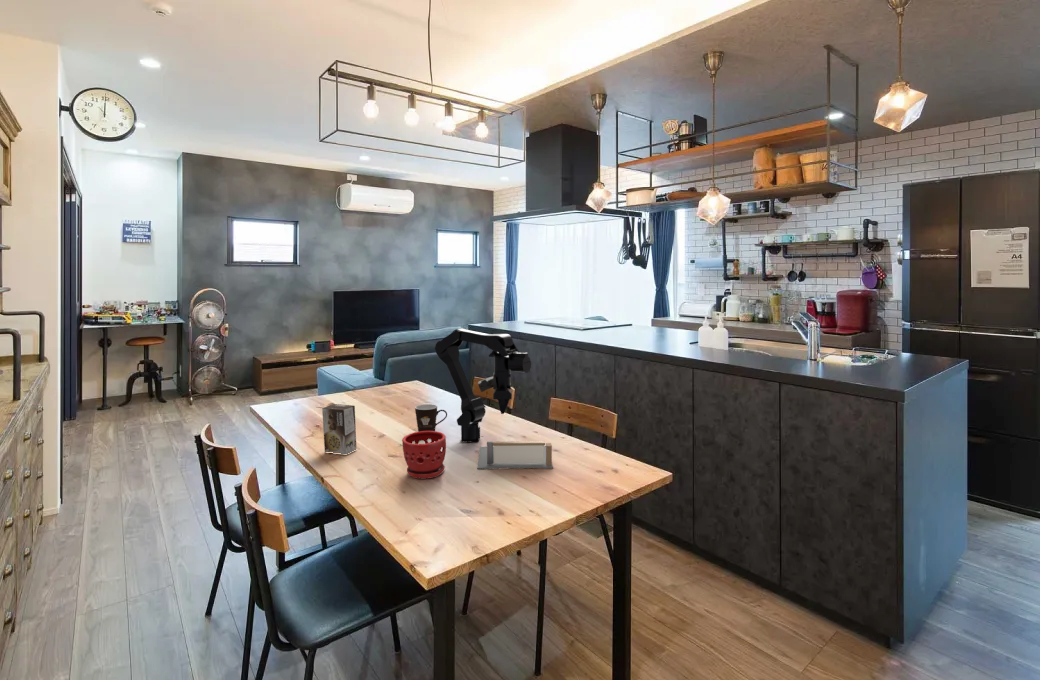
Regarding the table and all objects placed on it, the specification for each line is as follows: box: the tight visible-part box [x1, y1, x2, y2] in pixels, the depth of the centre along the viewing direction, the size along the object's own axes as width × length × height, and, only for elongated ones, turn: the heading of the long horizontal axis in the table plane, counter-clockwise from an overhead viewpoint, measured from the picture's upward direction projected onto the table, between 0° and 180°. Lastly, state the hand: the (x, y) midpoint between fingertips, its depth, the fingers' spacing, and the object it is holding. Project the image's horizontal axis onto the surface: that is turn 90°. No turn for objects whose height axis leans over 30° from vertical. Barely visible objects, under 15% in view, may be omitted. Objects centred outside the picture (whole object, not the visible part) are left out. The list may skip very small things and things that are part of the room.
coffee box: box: [321, 403, 357, 454], centre depth 191 cm, size 9×6×16 cm
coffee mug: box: [414, 403, 448, 432], centre depth 214 cm, size 12×9×10 cm
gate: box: [486, 440, 546, 464], centre depth 177 cm, size 18×2×7 cm, turn 92°
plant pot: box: [401, 430, 447, 480], centre depth 170 cm, size 13×13×12 cm
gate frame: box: [477, 442, 554, 470], centre depth 185 cm, size 24×21×7 cm
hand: (502, 413), depth 196 cm, fingers closed
